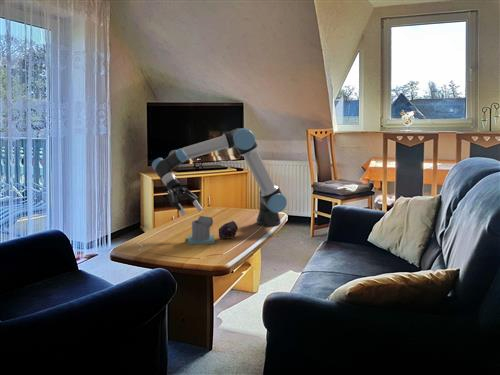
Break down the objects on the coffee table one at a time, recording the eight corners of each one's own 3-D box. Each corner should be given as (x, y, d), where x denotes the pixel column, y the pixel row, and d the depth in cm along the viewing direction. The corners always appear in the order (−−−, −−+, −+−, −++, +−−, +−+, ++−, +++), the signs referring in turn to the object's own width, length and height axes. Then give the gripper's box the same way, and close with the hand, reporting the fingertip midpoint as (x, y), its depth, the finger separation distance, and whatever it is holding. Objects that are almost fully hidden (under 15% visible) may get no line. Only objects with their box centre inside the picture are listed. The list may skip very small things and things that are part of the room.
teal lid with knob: (213, 237, 244) (213, 227, 243) (214, 243, 232) (214, 233, 231) (188, 238, 242) (187, 228, 241) (187, 244, 230) (187, 234, 230)
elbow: (188, 238, 236) (188, 216, 234) (199, 235, 243) (199, 213, 241) (204, 241, 230) (204, 218, 228) (215, 237, 238) (215, 215, 236)
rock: (216, 240, 243) (231, 242, 238) (214, 225, 241) (229, 228, 235) (229, 232, 253) (243, 235, 247) (227, 218, 250) (242, 220, 245)
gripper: (182, 184, 255) (203, 212, 250) (151, 189, 235) (173, 220, 229) (189, 175, 252) (210, 204, 246) (158, 180, 231) (181, 212, 225)
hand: (192, 212), depth 237 cm, fingers open, 13 cm apart
